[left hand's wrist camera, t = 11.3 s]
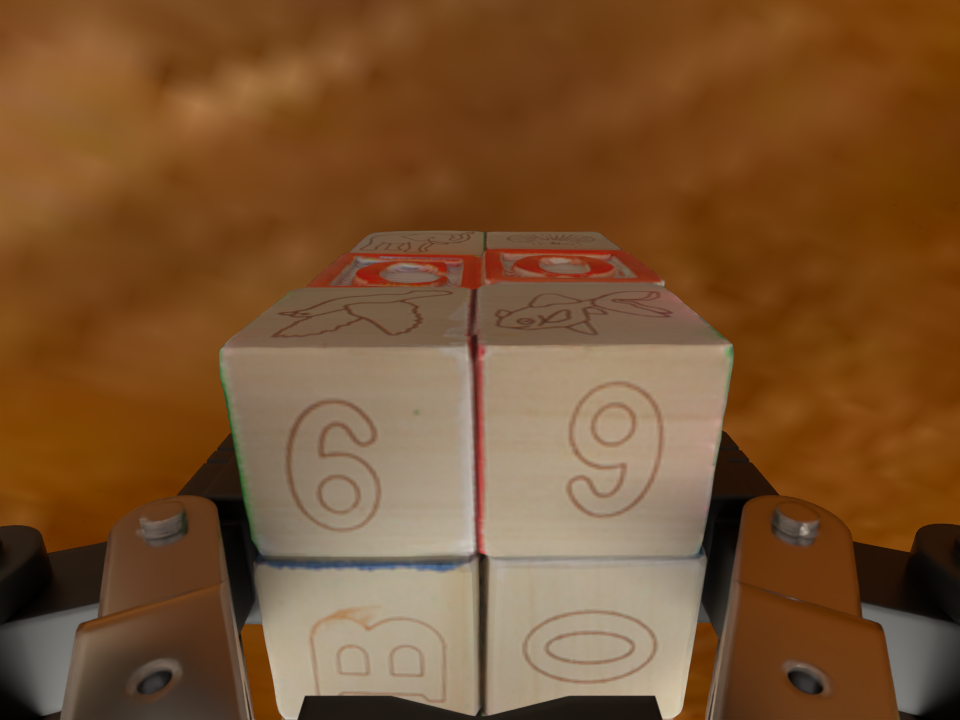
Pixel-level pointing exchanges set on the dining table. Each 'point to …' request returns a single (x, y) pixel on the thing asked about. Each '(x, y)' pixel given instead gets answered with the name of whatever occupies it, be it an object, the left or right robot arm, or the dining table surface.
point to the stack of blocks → (478, 472)
